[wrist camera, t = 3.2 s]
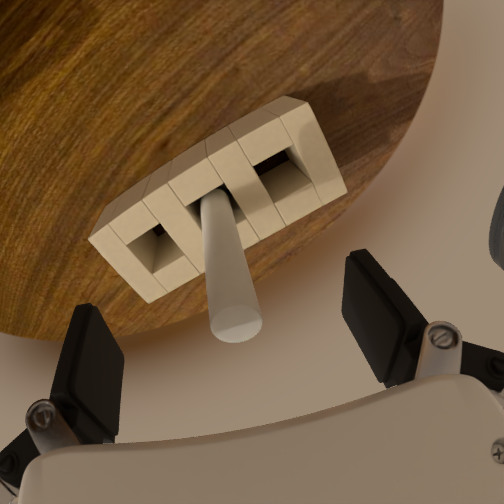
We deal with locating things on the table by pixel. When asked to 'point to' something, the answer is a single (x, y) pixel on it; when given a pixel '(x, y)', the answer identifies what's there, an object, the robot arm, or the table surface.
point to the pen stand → (208, 178)
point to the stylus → (227, 272)
